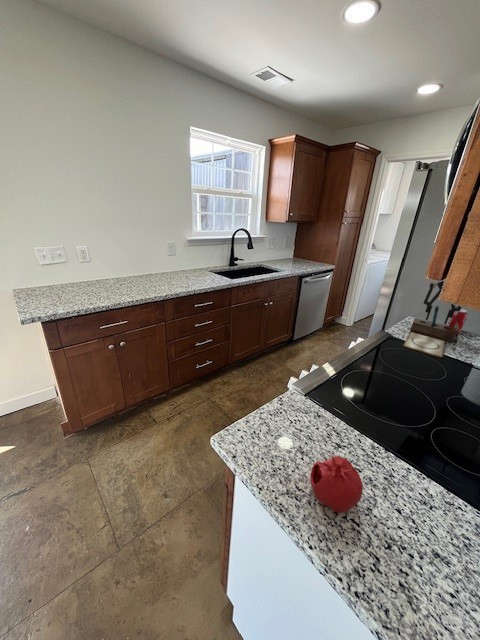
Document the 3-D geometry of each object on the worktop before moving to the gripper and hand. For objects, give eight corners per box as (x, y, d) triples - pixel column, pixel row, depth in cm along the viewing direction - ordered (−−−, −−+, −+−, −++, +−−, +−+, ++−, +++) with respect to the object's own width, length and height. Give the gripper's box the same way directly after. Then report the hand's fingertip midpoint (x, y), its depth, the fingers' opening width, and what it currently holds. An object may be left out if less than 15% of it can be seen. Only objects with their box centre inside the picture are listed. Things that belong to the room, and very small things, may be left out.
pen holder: (412, 327, 132) (415, 317, 130) (453, 337, 123) (456, 327, 121) (409, 331, 127) (412, 322, 125) (452, 343, 118) (456, 333, 116)
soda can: (457, 337, 123) (466, 313, 118) (439, 332, 128) (448, 309, 123) (461, 333, 127) (470, 310, 122) (444, 328, 132) (452, 305, 127)
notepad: (445, 342, 118) (446, 341, 118) (442, 358, 105) (442, 357, 105) (409, 332, 126) (410, 331, 126) (402, 346, 113) (403, 345, 113)
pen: (432, 334, 125) (439, 306, 121) (432, 335, 124) (438, 306, 120) (429, 333, 126) (435, 305, 121) (429, 334, 125) (435, 306, 120)
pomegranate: (366, 494, 55) (377, 463, 51) (343, 531, 48) (354, 499, 45) (323, 462, 61) (330, 432, 57) (298, 491, 55) (304, 460, 51)
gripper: (426, 269, 116) (410, 317, 125) (483, 278, 105) (461, 330, 114) (428, 267, 121) (413, 313, 131) (483, 274, 110) (462, 324, 119)
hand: (435, 321), depth 122 cm, fingers open, 6 cm apart
